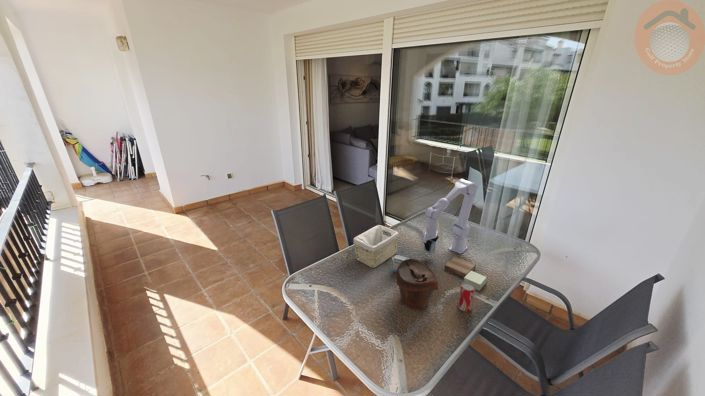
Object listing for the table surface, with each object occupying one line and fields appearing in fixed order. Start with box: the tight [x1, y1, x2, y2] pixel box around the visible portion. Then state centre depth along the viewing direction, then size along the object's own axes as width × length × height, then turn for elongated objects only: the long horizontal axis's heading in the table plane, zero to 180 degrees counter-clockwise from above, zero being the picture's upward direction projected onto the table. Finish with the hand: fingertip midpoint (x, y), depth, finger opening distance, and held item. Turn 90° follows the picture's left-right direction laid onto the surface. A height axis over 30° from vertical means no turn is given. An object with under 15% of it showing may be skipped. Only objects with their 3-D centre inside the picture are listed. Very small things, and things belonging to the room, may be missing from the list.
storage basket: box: [353, 224, 399, 269], centre depth 165 cm, size 24×16×15 cm
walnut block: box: [444, 255, 477, 278], centre depth 154 cm, size 12×12×3 cm
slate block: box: [423, 240, 437, 254], centre depth 162 cm, size 4×4×6 cm
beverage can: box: [457, 282, 476, 313], centre depth 124 cm, size 6×6×12 cm
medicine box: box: [392, 254, 411, 273], centre depth 151 cm, size 8×4×9 cm, turn 62°
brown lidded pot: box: [394, 258, 439, 311], centre depth 129 cm, size 18×20×18 cm
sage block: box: [463, 270, 487, 291], centre depth 142 cm, size 8×8×4 cm
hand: (429, 248), depth 163 cm, fingers closed on slate block, 4 cm apart
